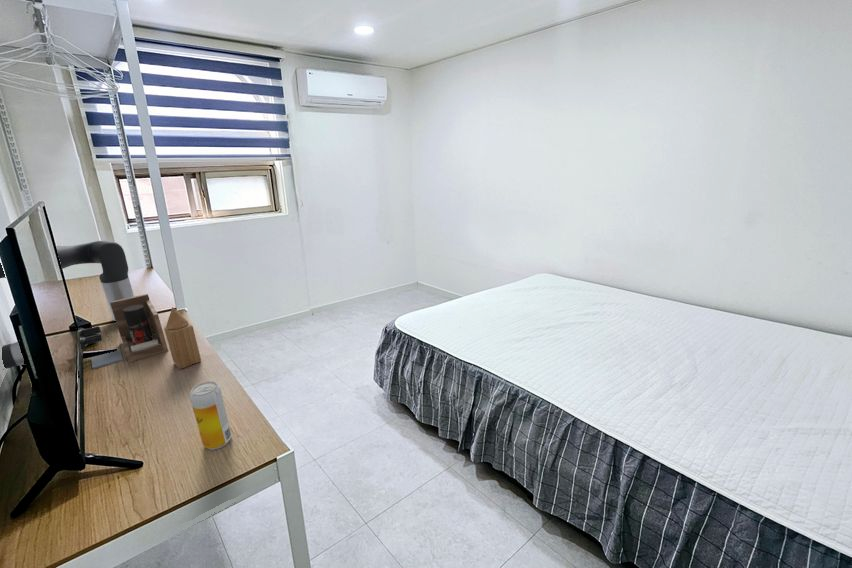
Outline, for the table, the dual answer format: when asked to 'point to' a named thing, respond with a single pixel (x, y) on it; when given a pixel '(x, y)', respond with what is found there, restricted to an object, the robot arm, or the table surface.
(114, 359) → the mat
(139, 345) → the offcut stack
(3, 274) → the robot arm
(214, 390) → the beer can
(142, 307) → the deodorant
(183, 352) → the decorative item
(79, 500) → the table surface
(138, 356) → the box
